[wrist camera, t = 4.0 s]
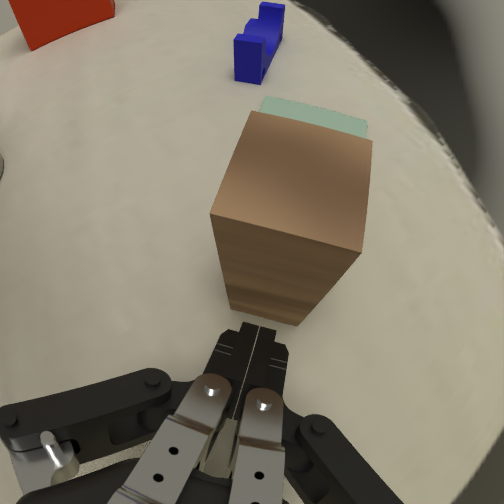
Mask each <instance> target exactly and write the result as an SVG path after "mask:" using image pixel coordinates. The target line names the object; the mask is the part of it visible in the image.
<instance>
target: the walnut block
mask: <svg viewBox="0 0 504 504" xmlns="http://www.w3.org/2000/svg"><path fill="white" fill-rule="evenodd" d="M371 157H372V141H371V140H368V139H365V138H362V137H358V136H355V135H352V134H348V133H345V132H341V131H337V130H334V129H330V128H326V127H323V126H319V125H315V124H311V123H307V122H303V121H298V120H294V119H290V118H285V117H281V116H276V115H271V114H266V113H261V112H256V111H251V113H250V115H249V117H248V120H247V122H246V124H245V127H244V129H243V132H242V134H241V136H240V139H239V141H238V143H237V146H236V148H235V151H234V153H233V156H232V158H231V160H230V163H229V165H228V168H227V170H226V173H225V175H224V178H223V180H222V183H221V185H220V188H219V190H218V193H217V196H216V198H215V201H214V203H213V206H212V208H211V211H210V218H211V222H212V227H213V232H214V237H215V241H216V246H217V250H218V255H219V260H220V264H221V269H222V273H223V278H224V282H225V287H226V291H227V295H228V300H229V304H230V308H231V309H234V310H237V311H241V312H245V313H248V314H252V315H256V316H259V317H263V318H267V319H271V320H274V321H278V322H282V323H286V324H290V325H294V326H298V325H299V324H300V323H301V322H302V321H303V320H304V319H305V318H306V316H307V315H308V314H309V313H310V312H311V311H312V310H313V309H314V308H315V306H316V305H317V304H318V303H319V302H320V301H321V300H322V299H323V297H324V296H325V295H326V294H327V293H328V292H329V291H330V289H331V288H332V287H333V286H334V285H335V284H336V283H337V281H338V280H339V279H340V278H341V277H342V276H343V274H344V273H345V272H346V271H347V270H348V269H349V267H350V266H351V265H352V264H353V263H354V261H355V260H356V259H357V258H358V257H359V255H360V254H361V253H362V247H363V239H364V231H365V223H366V214H367V205H368V195H369V184H370V171H371Z"/></svg>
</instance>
